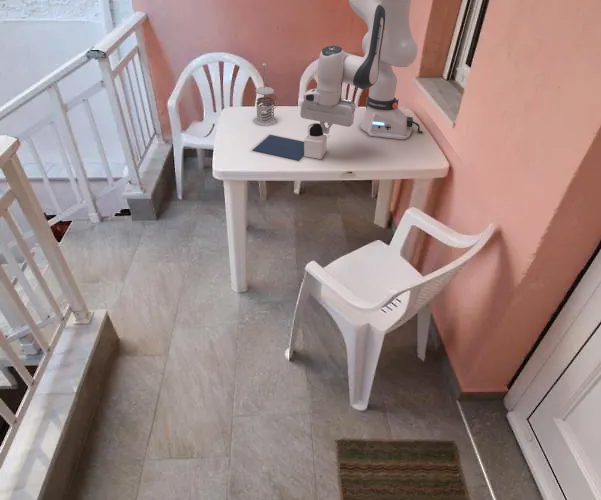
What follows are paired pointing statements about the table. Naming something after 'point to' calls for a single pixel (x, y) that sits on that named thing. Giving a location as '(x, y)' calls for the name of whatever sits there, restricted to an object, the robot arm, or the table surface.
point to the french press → (262, 116)
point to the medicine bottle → (315, 142)
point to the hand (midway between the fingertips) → (325, 132)
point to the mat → (281, 147)
